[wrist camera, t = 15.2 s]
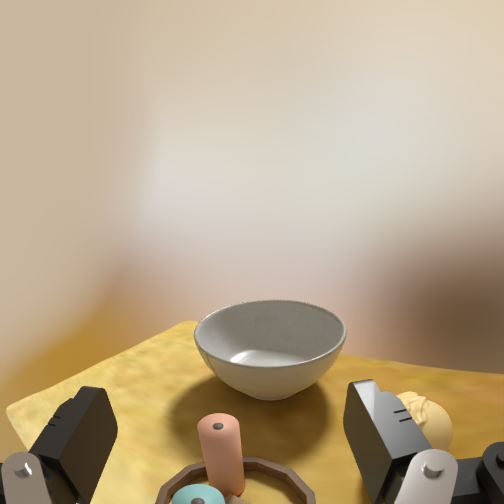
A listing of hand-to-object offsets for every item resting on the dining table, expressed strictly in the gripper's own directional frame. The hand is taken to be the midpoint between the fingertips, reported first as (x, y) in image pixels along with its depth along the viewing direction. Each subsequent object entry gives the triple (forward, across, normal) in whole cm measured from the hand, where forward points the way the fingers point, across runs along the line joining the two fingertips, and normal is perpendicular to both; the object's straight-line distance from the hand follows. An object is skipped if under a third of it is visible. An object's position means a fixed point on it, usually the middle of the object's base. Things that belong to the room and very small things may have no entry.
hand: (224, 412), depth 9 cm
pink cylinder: (+18, +3, +30) cm, 35 cm away
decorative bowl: (+44, -5, +30) cm, 53 cm away
